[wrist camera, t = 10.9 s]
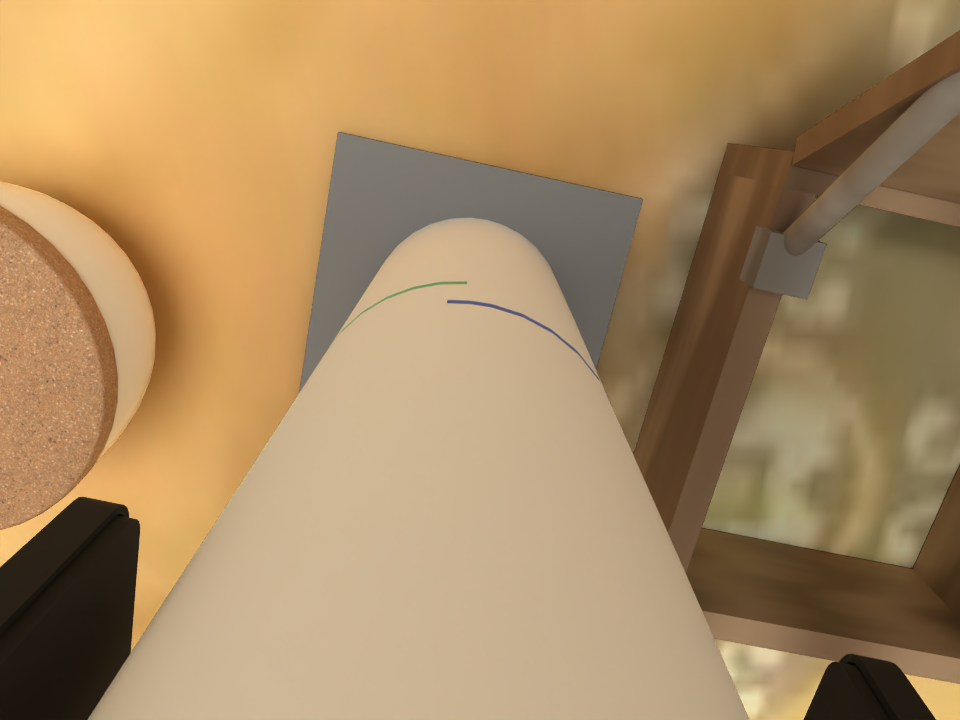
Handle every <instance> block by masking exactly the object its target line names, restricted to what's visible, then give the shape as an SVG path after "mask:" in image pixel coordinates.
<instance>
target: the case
mask: <svg viewBox="0 0 960 720" xmlns="http://www.w3.org/2000/svg"><path fill="white" fill-rule="evenodd" d="M816 195H819V196H820V197H819V198H818V199H817V200H816V201H815V202H814V200H815V197H816ZM858 204H859V205H864V206H868V207H873V208H877V209H882V210H886V211H891V212H895V213H900V214H904V215H908V216H913V217H917V218H922V219H926V220H931V221H935V222H940V223H944V224H949V225H953V226H958V227H960V30H959V31H958V32H956V33H955V34H953V35H952V36H950V37H949V38H947V39H946V40H944V41H943V42H941V43H940V44H938V45H937V46H935V47H934V48H932V49H931V50H929V51H928V52H926V53H925V54H923V55H922V56H920V57H918V58H917V59H915V60H914V61H912V62H911V63H909V64H908V65H906V66H905V67H903V68H902V69H900V70H899V71H897V72H896V73H894V74H893V75H891V76H890V77H888V78H887V79H885V80H884V81H882V82H881V83H879V84H877V85H876V86H874V87H873V88H871V89H870V90H868V91H867V92H865V93H864V94H862V95H861V96H859V97H858V98H856V99H855V100H853V101H852V102H850V103H849V104H847V105H846V106H844V107H843V108H841V109H840V110H838V111H837V112H835V113H833V114H832V115H830V116H829V117H827V118H826V119H824V120H823V121H821V122H820V123H818V124H817V125H815V126H814V127H812V128H811V129H809V130H808V131H806V132H805V133H803V134H802V135H800V136H799V137H797V141H796V146H795V151H787V150H779V149H771V148H763V147H755V146H747V145H739V144H731V143H728V146H727V149H726V152H725V156H724V159H723V162H722V166H721V169H720V172H719V175H718V179H717V182H716V185H715V189H714V192H713V195H712V199H711V202H710V205H709V208H708V212H707V215H706V218H705V222H704V225H703V228H702V232H701V235H700V238H699V241H698V245H697V248H696V251H695V255H694V258H693V261H692V265H691V268H690V271H689V274H688V278H687V281H686V284H685V288H684V291H683V294H682V297H681V301H680V304H679V307H678V311H677V314H676V317H675V321H674V324H673V327H672V330H671V334H670V337H669V340H668V344H667V347H666V350H665V354H664V357H663V360H662V363H661V367H660V370H659V373H658V377H657V380H656V383H655V386H654V390H653V393H652V396H651V400H650V403H649V406H648V410H647V413H646V416H645V419H644V423H643V426H642V429H641V433H640V436H639V439H638V443H637V446H636V449H635V452H634V458H635V460H636V462H637V465H638V467H639V469H640V471H641V474H642V476H643V478H644V480H645V483H646V485H647V487H648V489H649V492H650V494H651V496H652V498H653V501H654V503H655V505H656V507H657V510H658V512H659V514H660V516H661V519H662V521H663V523H664V525H665V528H666V530H667V532H668V535H669V537H670V539H671V541H672V544H673V546H674V548H675V550H676V553H677V555H678V557H679V559H680V562H681V564H682V566H683V568H684V571H685V573H686V575H687V578H688V580H689V582H690V584H691V587H692V589H693V591H694V594H695V596H696V598H697V601H698V603H699V605H700V607H701V610H702V612H703V614H704V617H705V619H706V621H707V623H708V626H709V628H710V630H711V633H712V635H713V637H714V639H719V640H724V641H730V642H735V643H741V644H746V645H751V646H757V647H762V648H768V649H773V650H778V651H784V652H789V653H795V654H800V655H805V656H811V657H816V658H822V659H827V660H832V661H838V662H839V661H840V660H841V658H842V657H844V656H845V655H846V654H856V655H861V656H866V657H871V658H876V659H881V660H886V661H890V662H892V663H895V664H896V665H897V666H898V667H899V668H900V669H901V670H902V672H903V673H904V674H908V675H914V676H919V677H924V678H930V679H935V680H941V681H946V682H951V683H957V684H960V466H959V468H958V470H957V472H956V475H955V477H954V479H953V481H952V484H951V486H950V488H949V490H948V492H947V495H946V497H945V499H944V501H943V503H942V506H941V508H940V510H939V512H938V515H937V517H936V519H935V521H934V523H933V526H932V528H931V530H930V532H929V534H928V537H927V539H926V541H925V543H924V545H923V548H922V550H921V552H920V554H919V557H918V559H917V561H916V563H915V565H914V568H913V569H910V568H905V567H899V566H894V565H889V564H884V563H879V562H874V561H868V560H863V559H858V558H853V557H848V556H843V555H838V554H832V553H827V552H822V551H817V550H812V549H807V548H801V547H796V546H791V545H786V544H781V543H776V542H771V541H765V540H760V539H755V538H750V537H745V536H740V535H734V534H729V533H724V532H719V531H714V530H709V529H703V528H702V525H703V522H704V519H705V516H706V513H707V510H708V507H709V504H710V501H711V499H712V496H713V493H714V490H715V487H716V484H717V481H718V478H719V475H720V472H721V470H722V467H723V464H724V461H725V458H726V455H727V452H728V449H729V446H730V443H731V441H732V438H733V435H734V432H735V429H736V426H737V423H738V420H739V417H740V414H741V412H742V409H743V406H744V403H745V400H746V397H747V394H748V391H749V388H750V386H751V383H752V380H753V377H754V374H755V371H756V368H757V365H758V362H759V359H760V357H761V354H762V351H763V348H764V345H765V342H766V339H767V336H768V333H769V330H770V328H771V325H772V322H773V319H774V316H775V313H776V310H777V307H778V304H779V301H780V299H781V296H782V294H784V295H788V296H793V297H798V298H802V299H807V298H808V296H809V293H810V290H811V287H812V284H813V282H814V279H815V276H816V273H817V270H818V268H819V265H820V262H821V259H822V256H823V254H824V251H825V248H826V245H827V244H825V243H822V242H820V241H818V240H819V239H820V238H821V237H823V236H824V235H825V234H826V233H827V232H828V231H829V230H830V229H831V228H833V227H834V226H835V225H836V224H837V223H838V222H839V221H840V220H841V219H842V218H844V217H845V216H846V215H847V214H848V213H849V212H850V211H851V210H852V209H854V208H855V207H856V206H857V205H858Z"/></svg>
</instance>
